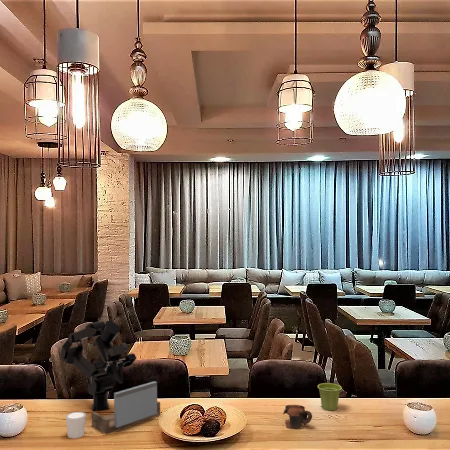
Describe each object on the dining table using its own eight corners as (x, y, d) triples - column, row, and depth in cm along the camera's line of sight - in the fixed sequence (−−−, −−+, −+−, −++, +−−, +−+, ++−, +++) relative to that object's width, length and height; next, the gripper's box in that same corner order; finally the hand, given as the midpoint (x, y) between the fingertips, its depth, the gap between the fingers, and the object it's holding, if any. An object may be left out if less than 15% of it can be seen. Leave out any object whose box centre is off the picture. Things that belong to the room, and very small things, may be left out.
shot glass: (80, 439, 171) (80, 419, 171) (61, 438, 172) (61, 418, 172) (89, 431, 178) (89, 412, 177) (71, 430, 179) (71, 410, 179)
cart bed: (91, 426, 182) (91, 412, 182) (144, 408, 199) (144, 396, 199) (106, 434, 175) (106, 420, 175) (160, 415, 192) (160, 402, 192)
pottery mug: (278, 428, 181) (278, 404, 186) (291, 432, 188) (291, 409, 192) (306, 427, 175) (306, 402, 179) (319, 431, 181) (319, 407, 185)
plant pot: (323, 402, 206) (323, 381, 206) (345, 407, 200) (345, 385, 200) (313, 409, 198) (313, 387, 198) (335, 414, 192) (335, 392, 192)
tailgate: (114, 426, 177) (114, 393, 177) (154, 412, 190) (154, 381, 190) (116, 427, 176) (116, 394, 176) (157, 413, 189) (157, 382, 189)
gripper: (92, 341, 186) (108, 376, 179) (133, 333, 200) (150, 365, 192) (82, 357, 192) (97, 393, 184) (122, 348, 205) (138, 381, 198)
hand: (121, 382), depth 189 cm, fingers closed
